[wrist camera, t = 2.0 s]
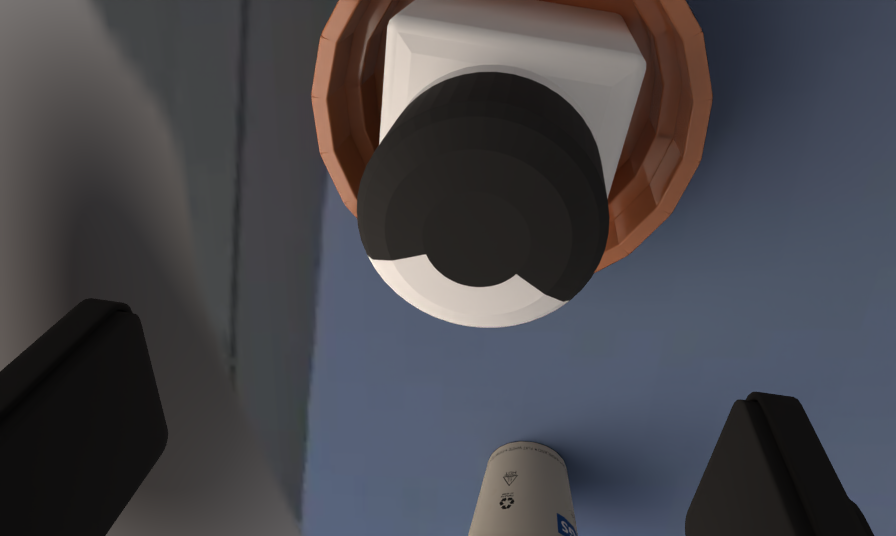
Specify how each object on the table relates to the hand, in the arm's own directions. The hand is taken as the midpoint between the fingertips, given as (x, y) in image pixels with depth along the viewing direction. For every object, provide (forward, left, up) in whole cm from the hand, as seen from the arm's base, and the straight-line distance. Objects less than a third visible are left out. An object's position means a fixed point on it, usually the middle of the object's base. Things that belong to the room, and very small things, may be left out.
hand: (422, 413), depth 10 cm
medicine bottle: (0, 0, -17) cm, 17 cm away
